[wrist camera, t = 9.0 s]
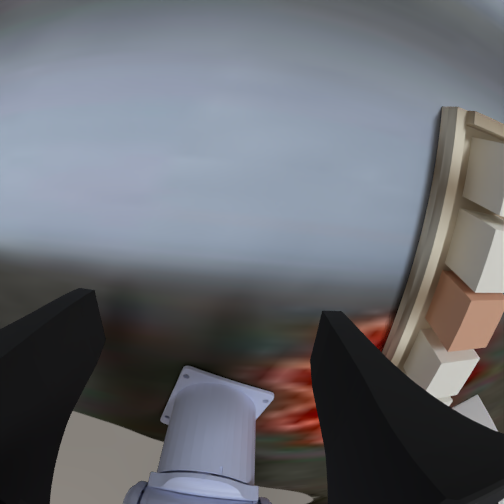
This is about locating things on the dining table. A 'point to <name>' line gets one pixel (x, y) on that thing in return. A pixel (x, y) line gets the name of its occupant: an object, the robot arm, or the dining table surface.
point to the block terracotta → (463, 314)
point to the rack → (439, 224)
